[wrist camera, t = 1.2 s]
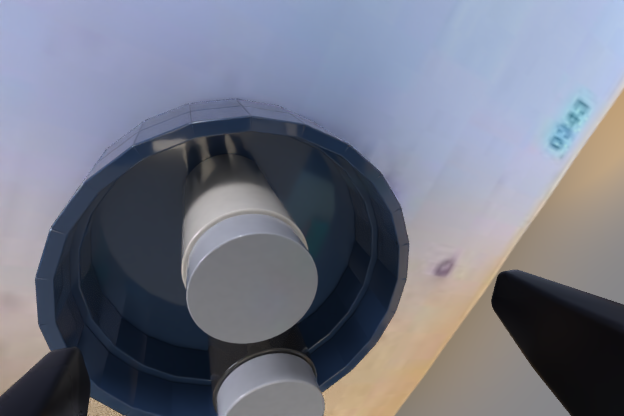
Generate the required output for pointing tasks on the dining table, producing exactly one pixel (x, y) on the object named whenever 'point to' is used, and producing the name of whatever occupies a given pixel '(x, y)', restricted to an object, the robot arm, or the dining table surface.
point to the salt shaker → (242, 253)
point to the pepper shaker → (265, 377)
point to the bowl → (168, 247)
